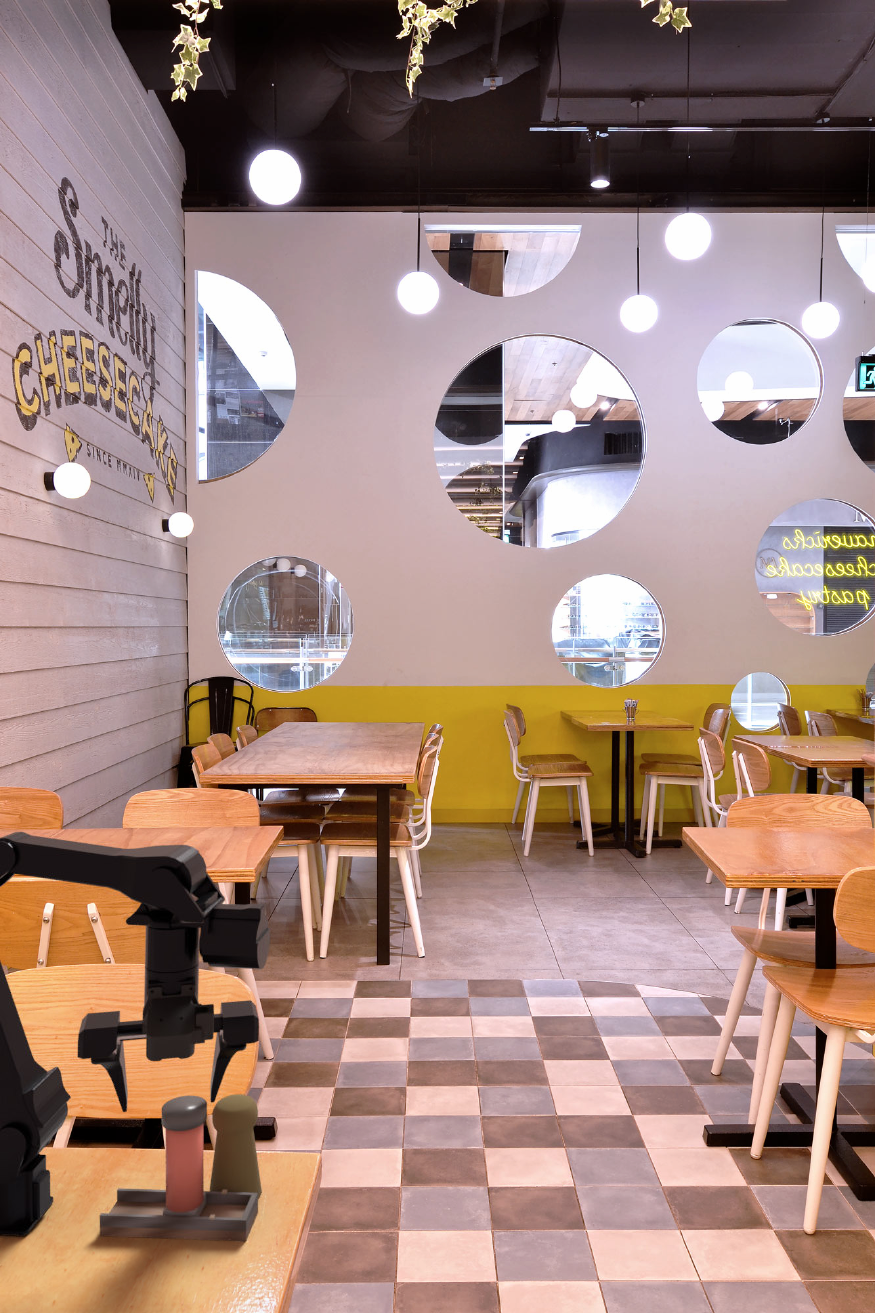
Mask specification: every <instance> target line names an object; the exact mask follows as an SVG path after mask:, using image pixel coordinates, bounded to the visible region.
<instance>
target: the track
mask: <svg viewBox="0 0 875 1313" xmlns="http://www.w3.org/2000/svg"><path fill="white" fill-rule="evenodd" d="M204 1192H206V1204H205V1206H204V1208H203V1210H202V1212H201V1214H200V1216H170V1215H163V1210H164V1208H165V1206H166V1189H153V1188H152V1189H150V1188H149V1189H147V1188H124V1187H123V1188H121V1187H118V1188H117V1190H116V1202H115V1203H114V1205H113V1207H112V1208H111V1209H110V1210H109V1212H107V1213H106V1212H105V1213H104V1212H103V1213H102V1212H101V1213H100V1214H99V1236H100V1237H122V1238H123V1237H126V1238H129V1237H130V1238H153V1239H154V1238H155V1239H179V1240H180V1239H182V1240H183V1239H184V1240H186V1239H187V1240H210V1241H211V1240H212V1241H213V1240H214V1241H237V1242H239V1241H240V1242H241V1241H242V1242H243V1241H244V1242H247V1240H248V1238H249V1235H250V1233H251V1231H252V1228H253V1226H254V1223H255V1221H256V1218H257V1216H258V1214H259V1199H258V1193H247V1192H227V1190H225V1189H223V1191H222V1192H216V1191H210V1190H204Z"/></svg>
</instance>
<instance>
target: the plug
mask: <svg viewBox="0 0 875 1313" xmlns="http://www.w3.org/2000/svg"><path fill="white" fill-rule="evenodd" d="M207 1118H208V1101H207V1100H206V1099H205V1098H204V1097H202V1096H199V1095H181V1096H178V1097H175V1098H172V1099H169V1100H168V1101H166V1102H165V1103H164V1104H163V1105H162V1107H161V1125H162V1127H163V1129H165V1190H166V1206H165V1208H164V1210H163V1215H170V1216H200V1214H201V1212H202V1210H203V1208H204V1206H205V1204H206V1192H204V1191H205V1190H204V1187H205V1186H204V1184H205V1182H204V1180H205V1179H204V1123H205V1122H206V1121H207Z"/></svg>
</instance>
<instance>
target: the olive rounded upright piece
mask: <svg viewBox="0 0 875 1313" xmlns="http://www.w3.org/2000/svg"><path fill="white" fill-rule="evenodd" d="M258 1117H259V1109H258V1104H257V1103H256V1100H255V1099H254V1098H253V1097H251V1096H250V1095H247V1094H242V1093H239V1094H237V1093H236V1094H230V1095H227V1096H224V1097H222V1098H221V1099H219V1100H218V1101H217V1102H216V1104H215V1105H214V1107H213V1109H212V1113H211V1118H212V1119H211V1120H212V1125H213V1128H214V1129H215V1131H216V1135H215V1136H216V1137H215V1143H214V1144H215V1145H214V1152H213V1153H214V1154H213V1159H212V1160H213V1161H212V1170H211V1176H210V1183H209V1184H210V1186H209V1191H216V1192H222V1191H223V1189H225V1190H227V1192H247V1193H258V1200H259V1199H260V1198H261V1196H262V1194H261V1193H263V1192H262V1190H263V1189H262V1184H261V1176H260V1169H259V1161H258V1154H257V1148H256V1147H257V1146H256V1139H255V1132H254V1127H255V1126H256V1124H257V1122H258Z"/></svg>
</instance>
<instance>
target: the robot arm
mask: <svg viewBox="0 0 875 1313" xmlns="http://www.w3.org/2000/svg"><path fill="white" fill-rule="evenodd" d="M15 875H20V876H26V877H33V878H38V879H39V878H40V879H46V880H52V881H61V882H67V883H73V884H81V885H88V886H94V887H95V886H96V887H101V888H107V889H110V890H111V889H112V890H114V891H117V892H120V893H121V894H122V895H124V896H126V897H127V898H129V899H130V900H131V901H135V902H137V903H140V904H139V906H138V908H137V909H136V910H135V911H134V912H133V913H132V914H131V915H130V916H128V917H127V918H126V919H125V924H126V925H128V926H140V927H141V926H142V927H145V939H144V940H145V941H144V942H145V944H144V945H145V947H144V948H145V949H144V950H145V951H144V952H145V954H144V957H145V958H144V991H143V992H144V993H143V994H144V995H143V1007H142V1019H140V1020H130V1021H129V1020H127V1021H121V1011H120V1010H113V1011H103V1012H102V1011H101V1012H89V1013H87V1014H86V1015H85V1016H84V1017H83V1018H82V1019H81V1023H80V1027H79V1029H78V1030H79V1031H78V1036H77V1058H78V1059H81V1060H87V1059H88V1060H89V1059H90V1063H91V1065H94V1066H96V1065H101V1067H102V1068H104V1070H106V1072H107V1074H108V1076H109V1077H110V1080H111V1082H112V1086H113V1087H114V1091H115V1093H116V1096H117V1100H118V1101H119V1102H118V1103H119V1104H120V1107H121V1110H122V1112H123V1113H127V1111H128V1099H129V1098H128V1097H129V1096H128V1095H129V1094H128V1093H129V1092H128V1089H129V1088H128V1081H127V1071H126V1070H127V1068H126V1061H125V1060H126V1059H125V1058H126V1057H125V1049H124V1048H125V1046H124V1041H125V1042H126V1041H127V1042H128V1041H136V1040H138V1041H139V1040H145V1046H146V1047H145V1057H146V1059H147V1060H148V1061H150V1062H160V1061H161V1062H162V1060H168V1059H177V1058H178V1059H180V1060H183V1059H185V1060H186V1059H189V1058H191V1057H192V1056H193V1055H194V1054H195V1049H196V1048H195V1047H196V1045H198V1044H206V1041H208V1040H209V1041H210V1040H213V1039H214V1034H215V1033H216V1035H215V1036H216V1037H215V1044H214V1053H213V1061H212V1069H211V1076H210V1085H209V1086H210V1088H209V1090H210V1094H209V1095H210V1096H209V1099H210V1101H209V1102H210V1103H215V1101H216V1099H217V1095H218V1093H219V1090H220V1087H221V1085H222V1082H223V1079H224V1076H225V1073H226V1071H227V1068H228V1066H229V1064H230V1062H231V1060H232V1058H233V1057H234V1056H235V1055H236V1054H237V1052H242V1051H243V1052H244V1050H246V1049H247V1045H249V1044H255V1043H257V1042H259V1041H260V1019H259V1015H258V1009H257V1005H256V1004H255V1002H253V1001H252V1000H251V999H250V1000H249V999H248V1000H241V1001H240V1000H239V1001H227V1002H225V1001H223V1002H220V1013H215V1006H214V1004H213V1003H211V1004H210V1003H208V1004H202V1003H199V1002H200V1001H199V983H200V982H199V980H200V979H199V977H200V956H201V959H202V960H201V961H202V962H203V964H204V963H205V964H208V966H209V967H211V968H224V969H225V968H227V969H245V970H247V969H248V970H249V969H251V970H263V969H264V968H265V966H266V963H267V960H268V955H269V950H270V943H271V928H270V927H269V920H268V918H267V915H266V905H265V904H264V903H257V902H255V903H249V904H248V903H247V904H232V903H231V904H230V903H224V902H225V900H226V899H225V897H224V895H223V893H222V892H221V890H220V889H219V887H218V886H217V885H216V883H215V881H213V879H212V878H211V876H210V875H209V874H208V871H207V865H206V861H205V858H204V857H203V856H202V854H200V851H199V850H198V849H197V848H195V847H193V846H190V845H189V844H188V845H187V844H169V845H168V844H167V845H166V844H165V845H152V846H151V845H150V846H146V847H145V846H143V847H137V848H136V847H135V848H121V847H115V846H107V845H100V844H94V843H87V842H80V841H73V840H67V839H65V840H64V839H58V838H53V837H52V838H51V837H45V836H39V835H38V836H37V835H31V834H29V833H27V832H24V831H15V832H11V833H9V834H6V835H4V836H2V837H0V888H1V887H2V886H4V885H5V884H6V883H8V882H9V881H10V880H11V879H12V878H13V877H14V876H15ZM193 896H195V897H196V899H194V897H193ZM71 1098H72V1097H71V1095H70V1094H69V1092H68V1091H67V1090H66V1087H65V1086H64V1083H63V1077H62V1072H61V1070H60V1067H59V1066H55V1067H52V1068H50V1069H49V1070H46V1069H45V1068H44V1067H43V1066H42V1065H40V1064H39V1063H38V1062H37V1061H36V1060H35V1057H34V1055H33V1054H32V1050H31V1047H30V1044H29V1040H28V1038H27V1035H26V1032H25V1030H24V1026H23V1023H22V1020H21V1018H20V1014H19V1012H18V1008H17V1006H16V1003H15V1000H14V997H13V994H12V992H11V988H10V985H9V983H8V980H7V976H6V973H5V970H4V967H3V965H2V962H1V960H0V1236H19V1237H21V1236H26V1235H29V1233H30V1232H31V1230H33V1228H34V1227H35V1225H36V1224H37V1223H38V1222H39V1220H40V1219H42V1217H43V1215H44V1214H45V1213H46V1212H47V1211H48V1209H49V1208H50V1207H51V1205H52V1204H53V1203H54V1197H53V1196H52V1195H51V1172H50V1170H49V1169H47V1155H46V1154H41V1152H42V1151H43V1149H45V1147H46V1146H48V1145H49V1144H50V1143H51V1141H52V1139H53V1137H54V1136H55V1134H57V1132H58V1131H59V1130H60V1129H61V1128H62V1127H63V1125H64V1123H65V1121H66V1119H67V1117H68V1114H69V1113H68V1112H69V1107H68V1102H69V1101H70V1099H71Z"/></svg>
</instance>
